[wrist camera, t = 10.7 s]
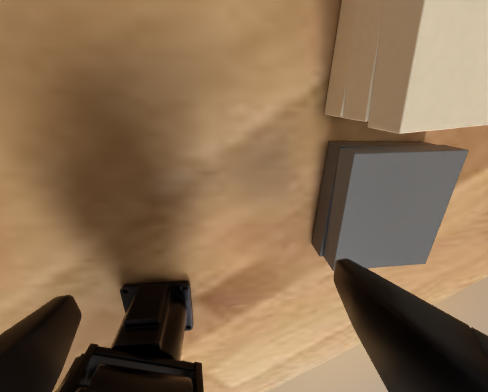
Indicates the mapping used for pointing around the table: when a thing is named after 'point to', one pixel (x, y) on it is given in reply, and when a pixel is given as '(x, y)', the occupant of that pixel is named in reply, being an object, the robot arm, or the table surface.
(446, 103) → the cream rectangular block
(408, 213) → the grey books
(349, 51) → the beige block
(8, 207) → the table surface
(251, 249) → the table surface
